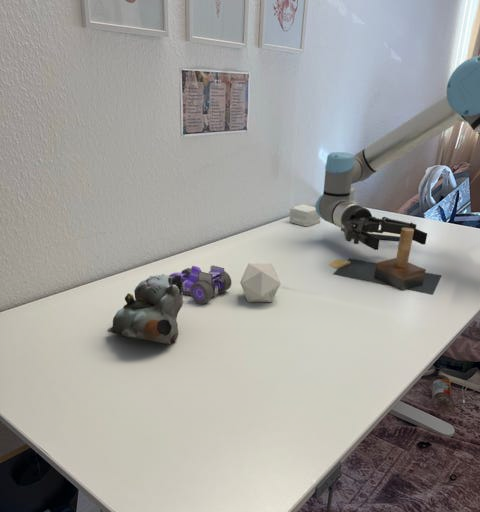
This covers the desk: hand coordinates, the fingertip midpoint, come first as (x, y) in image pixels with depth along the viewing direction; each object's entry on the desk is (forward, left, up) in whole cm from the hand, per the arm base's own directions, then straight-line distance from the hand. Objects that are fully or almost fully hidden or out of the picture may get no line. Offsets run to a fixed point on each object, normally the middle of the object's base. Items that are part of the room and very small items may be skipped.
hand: (401, 241), depth 113 cm
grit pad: (+16, -3, -10) cm, 19 cm away
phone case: (+12, -38, -11) cm, 41 cm away
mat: (+2, -2, -11) cm, 11 cm away
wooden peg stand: (-1, +1, -10) cm, 10 cm away
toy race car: (+39, +30, -11) cm, 51 cm away
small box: (+39, -39, -11) cm, 56 cm away
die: (+24, +26, -11) cm, 37 cm away
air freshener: (+30, -54, -11) cm, 63 cm away
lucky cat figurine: (+35, +52, -11) cm, 64 cm away
